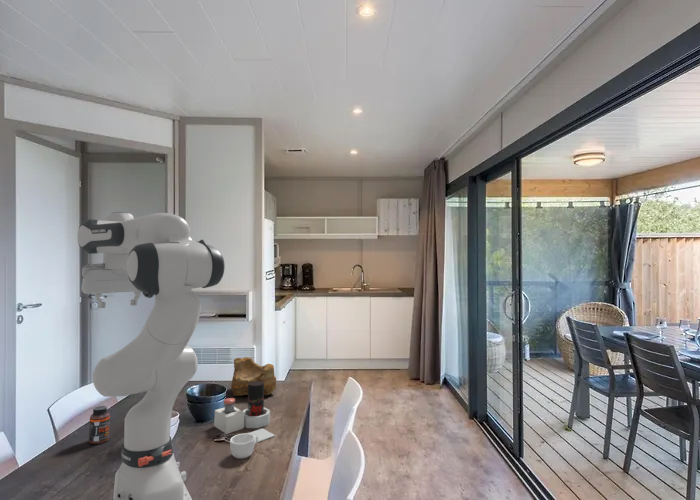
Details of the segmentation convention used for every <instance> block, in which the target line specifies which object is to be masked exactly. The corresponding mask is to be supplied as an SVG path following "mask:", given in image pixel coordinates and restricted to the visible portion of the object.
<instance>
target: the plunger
mask: <svg viewBox="0 0 700 500" xmlns="http://www.w3.org/2000/svg"><path fill="white" fill-rule="evenodd" d="M223 403H224V407H225V411H224V413H226V414H229V413H233V412H234V407H235V403H236V398H234V397H229V398H225V399H223Z"/></svg>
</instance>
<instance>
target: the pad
mask: <svg viewBox="0 0 700 500" xmlns="http://www.w3.org/2000/svg"><path fill="white" fill-rule="evenodd" d="M248 434H252V435H254V436H257V437H258V441H257V443H256V444H258V443H261V442H264V441H267V440H269V439H271V438H275V437H276V434H274V433H272V432H270V431H268V430H267V429H265V428H263V427H261V428H258V429H256V430H254V431H251V432H248ZM255 441H256V437H255Z"/></svg>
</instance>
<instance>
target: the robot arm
mask: <svg viewBox="0 0 700 500" xmlns="http://www.w3.org/2000/svg"><path fill="white" fill-rule="evenodd" d="M191 234H192V232H191V228H190V225H189V223H188V222H187V221H186V220H185V219H184V218H183V217H181V216H179V215H177V214H174V213H168V212H157V213H156V212H155V213H150V214H147V215H143V216H139V217H136V218H135V217H134V215H133V214H131V213H129V212H124V211H121V212H120V211H118V212H117V211H116V212H110V213H108V214H106V218H105V220H99V219H93V218H92V219H91V218H89V219H86V221H84V222H83V223H82V224H80V226H79V228H78V230H77V242H78V246H79V247H80V248H81V250H83V251H84V252H85V253H87V254H88V255H91V254H93V255H94V254H103V255H102V256H103V257H102V259H103V260H102V261H103V263H88V264H86V265H84V266H82V268H81V276H82V282H81V292H82V293H83V294H85V295H93V294H94V298H95V299H96V301H97V304H98V308H99V309H105V308H106V302H105V301H103V300H102V299H101V297H102V296H103V295H102V294H111V293H113V294H115V293H133V295H135V296H134V297H133V299H130V306H133V307H134V306H137V305H138V300H139V298H140V297H141V295H143V296H144V297H145V298H148V299H151V298H153V297H154V306H153V307H152V309H151V311H150V313H149V315H148V317H147V319H146V321H145V324H144V325H143V327H142V329H141V331H140V333H139V334H138V335H137V336H136V337H135V338H134V339H133V340H132V341H131V342H129V343H128V344H127V345H125V346H124V347H122V348H121V349H119V350H118V351H116V352H114V353H111V354H110V355H107V356H105V357H102V358H101V359H100V360H99V361H98V363H97V364H96V366H95V367H94V370H93V373H92V382H93V386H94V388H95V390H96V391H97V392H98V393H99V395H101V396H103V397H109V398H110V397H127V396H130V395H136V394H141V393H145V392H146V393H145V395H144V397H143V398H142V399H141V400H139V402H137V403H136V404H134V405H133V406H132V407H131V408H130V409H129V410H128V411H127V414H126V415H125V418H124V428H123V429H124V431H123V433H124V434H123V438H124V439H123V444H122V447H121V452H120V454H121V461H122V462H121V464H120V466H119V468H118V469H117V470H116V472H115V475H114V487H113V499H112V500H193V499H192V496H191V494H190V493H189V491H188V489H187V487H186V485H185V481H186V480H187V477H188V476H187V471H185V470H183V471H180V465H181V464H180V463H181V462H180V461H176V458H175V454H174V449H173V448H174V445H173V441H172V437H171V422H172V412H173V408H174V406H175V405H174V404H175V403H176V399H177V398H178V395H179V394H180V392H181V391H182V389H183V388H184V386H186V384H187V383H188V382H189V381H190V380H192V379H193V377H194V376H195V374H196V372H197V369H198V366H199V365H198V362H199V361H198V356H197V354H196V352H195V350H194V349H193V348H192V347H191V346H190V345H188V343H189V342H190V340H191V338H192V336H193V335H194V332H195V331H196V328H197V325H198V323H199V319H200V317H201V312H202V301H201V299H200V297H199V296H198V295H197V293H196V292H195V291H193V290H194V289H199V288H202V289H206V288H212V287H214V286H217V285H218V284H219V283H220V282H221V281H222V279H223V277H224V274H225V260H224V257H223V254H222V253H221V252H220V251H219V250H218V249H217V248H216V247H215V246H213V245H210V244H208V243H207V242H206V240H204V239H200V240H199V241H196V240H194V239H192V237H191ZM192 289H193V290H192Z"/></svg>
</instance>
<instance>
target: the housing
mask: <svg viewBox="0 0 700 500" xmlns="http://www.w3.org/2000/svg"><path fill="white" fill-rule="evenodd" d="M224 411H225V406H224V407H221V408H218V409H214V422H213V423H214V427H215V428H217V430H220V431H221V432H223V433H224V434H225V435H226V434H227V435H228V434H230V433H234V432H236V431H239V430H240V431H241V430H243V429H245V428H246V429H261V428H263V427H266V426H268V425H269V424H270V421H271V409H268V408H267V407H265V406H264V415H261V416H248V408H245V409H243V410H241V409H239V408H238V407H236V406H234V412H233V413H229V414H226V413H224Z"/></svg>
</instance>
